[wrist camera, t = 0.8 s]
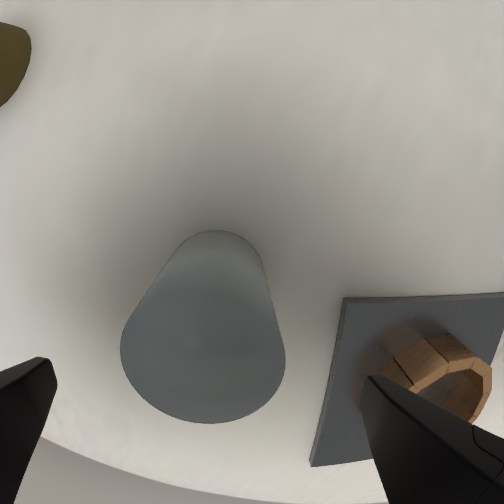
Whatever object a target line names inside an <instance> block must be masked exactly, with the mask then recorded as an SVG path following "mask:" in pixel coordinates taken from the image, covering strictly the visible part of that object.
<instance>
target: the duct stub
mask: <svg viewBox="0 0 504 504" xmlns="http://www.w3.org/2000/svg"><path fill="white" fill-rule="evenodd" d="M120 354H121V361H122V365H123V369H124V371H125V373H126V376H127V378H128V379H129V381H130V383H131V385H132V386H133V387H134V389H135V390H136V391H137V392H138V393H139V394H140V396H141V397H142V398H143V399H145V400H146V401H147V402H148V403H149V404H151V405H152V406H154V407H155V408H156V409H158V410H160V411H162V412H163V413H165V414H167V415H170V416H172V417H175V418H178V419H181V420H184V421H189V422H194V423H203V424H215V423H224V422H229V421H234V420H237V419H240V418H243V417H245V416H247V415H250V414H251V413H253V412H255V411H256V410H258V409H259V408H261V407H262V406H263V405H265V404H266V403H267V402H268V401H269V400H270V399H271V398H272V396H273V395H274V394H275V392H276V391H277V389H278V387H279V386H280V384H281V381H282V378H283V375H284V371H285V359H286V358H285V350H284V346H283V342H282V338H281V334H280V331H279V327H278V323H277V319H276V315H275V311H274V308H273V304H272V300H271V296H270V292H269V289H268V285H267V281H266V277H265V273H264V270H263V266H262V263H261V260H260V258H259V256H258V254H257V253H256V251H255V250H254V248H253V247H252V246H251V245H250V244H249V243H248V242H247V241H245V240H244V239H242V238H241V237H239V236H237V235H235V234H232V233H229V232H225V231H217V230H215V231H205V232H201V233H198V234H196V235H194V236H192V237H190V238H188V239H187V240H186V241H184V242H183V243H182V244H181V245H180V246H179V247H178V249H177V250H176V251H175V253H174V254H173V256H172V257H171V258H170V260H169V261H168V263H167V264H166V265H165V267H164V268H163V270H162V271H161V273H160V274H159V275H158V277H157V278H156V280H155V281H154V283H153V284H152V286H151V287H150V288H149V290H148V291H147V293H146V294H145V296H144V297H143V299H142V300H141V302H140V303H139V305H138V306H137V308H136V309H135V311H134V312H133V314H132V315H131V317H130V318H129V320H128V322H127V323H126V325H125V328H124V330H123V333H122V337H121V343H120Z"/></svg>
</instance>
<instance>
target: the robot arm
mask: <svg viewBox="0 0 504 504" xmlns="http://www.w3.org/2000/svg"><path fill="white" fill-rule="evenodd" d="M56 390H57V379H56V376H55V372H54V369H53V366H52V363H51V361H50V360H49V359H48V358H43V357H35V358H33V359H31V360H28V361H26V362H23V363H21V364H18V365H16V366H13V367H11V368H8V369H6V370H3V371H1V372H0V504H14V501H15V498H16V495H17V492H18V490H19V487H20V484H21V482H22V479H23V476H24V474H25V471H26V468H27V466H28V463H29V461H30V458H31V456H32V454H33V452H34V449H35V447H36V444H37V442H38V440H39V438H40V435H41V433H42V431H43V428H44V425H45V423H46V420H47V417H48V414H49V411H50V408H51V405H52V402H53V399H54V396H55V393H56ZM359 405H360V410H361V414H362V418H363V422H364V426H365V431H366V435H367V440H368V444H369V447H370V450H371V454H372V456H373V459H374V462H375V465H376V467H377V470H378V473H379V476H380V479H381V482H382V484H383V487H384V490H385V493H386V496H387V499H388V502H389V504H504V439H503V438H501V437H498V436H496V435H494V434H492V433H490V432H487V431H485V430H483V429H481V428H479V427H478V426H476V425H472V424H471V423H470V422H468V421H466V420H464V419H462V418H460V417H458V416H456V415H454V414H453V413H451V412H449V411H447V410H445V409H443V408H441V407H439V406H438V405H436V404H434V403H432V402H430V401H428V400H426V399H425V398H423V397H421V396H419V395H417V394H415V393H414V392H412V391H410V390H408V389H406V388H405V387H403V386H401V385H399V384H397V383H396V382H394V381H392V380H390V379H389V378H387V377H385V376H383V375H381V374H372V375H368V376H366V378H365V380H364V383H363V387H362V390H361V394H360V398H359Z"/></svg>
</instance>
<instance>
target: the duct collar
mask: <svg viewBox="0 0 504 504" xmlns="http://www.w3.org/2000/svg"><path fill="white" fill-rule="evenodd" d="M503 329H504V293H488V294H470V295H449V296H422V297H382V298H343V303H342V310H341V316H340V322H339V328H338V334H337V339H336V345H335V350H334V355H333V361H332V366H331V371H330V376H329V380H328V385H327V390H326V394H325V399H324V403H323V407H322V412H321V416H320V420H319V424H318V428H317V432H316V436H315V440H314V444H313V448H312V451H311V455H310V459H309V461H310V465H311V467H318V466H327V465H335V464H343V463H350V462H356V461H362V460H368V459H373V456H372V454H371V450H370V447H369V444H368V440H367V435H366V431H365V426H364V422H363V418H362V414H361V410H360V405H359V398H360V394H361V390H362V387H363V383H364V380H365V378H366V376H368V375H372V374H381V375H383V376H385V377H387V378H389V379H390V380H392V381H394V382H396V383H397V384H399V385H401V386H403V387H405V388H406V389H408V390H410V391H412V392H414V393H415V394H417V395H419V396H421V397H423V398H425V399H426V400H428V401H430V402H432V403H434V404H436V405H438V406H439V407H441V408H443V409H445V410H447V411H449V412H451V413H453V414H454V415H456V416H458V417H460V418H462V419H464V420H466V421H468V422H470V423H471V424H472V423H473V422H474V421H475V420H476V419H477V417H478V416H479V415H480V413H481V411H482V409H483V407H484V405H485V403H486V401H487V399H488V397H489V395H490V393H491V390H492V368H491V367H490V365H491V363H492V360H493V358H494V355H495V352H496V350H497V347H498V344H499V341H500V338H501V335H502V332H503Z"/></svg>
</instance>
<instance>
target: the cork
mask: <svg viewBox="0 0 504 504" xmlns="http://www.w3.org/2000/svg"><path fill="white" fill-rule="evenodd" d="M30 54H31V41H30V37H29V35H28V34H27V32H26V30H24V29H22V28H20V27H17V26H13V25H10V24H6V23H3V22H0V106H2V105H3V104H4V103H6V102H7V101H8V100H9V98H10V97H11V96H12V95H13V93H14V92H15V91H16V90H17V88H18V86H19V84H20V83H21V81H22V79H23V77H24V75H25V72H26V70H27V67H28V64H29V61H30Z"/></svg>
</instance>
